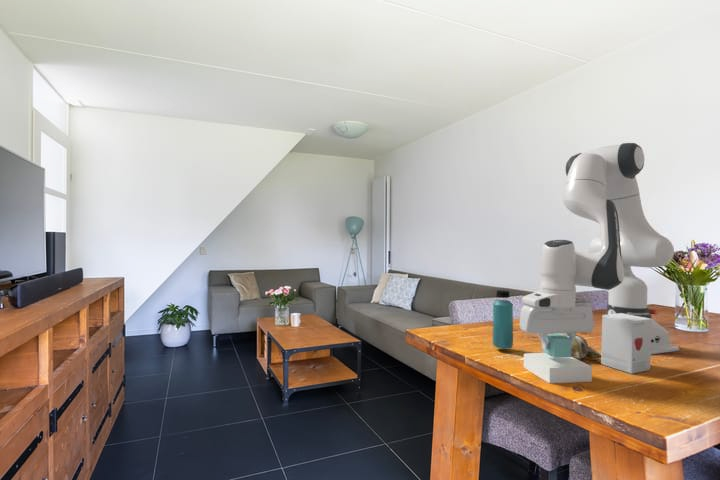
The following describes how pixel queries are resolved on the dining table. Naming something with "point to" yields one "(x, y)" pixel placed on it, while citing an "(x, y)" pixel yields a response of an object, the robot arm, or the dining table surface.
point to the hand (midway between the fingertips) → (556, 348)
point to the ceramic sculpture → (581, 348)
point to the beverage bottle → (502, 321)
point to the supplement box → (626, 342)
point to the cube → (558, 346)
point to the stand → (557, 368)
